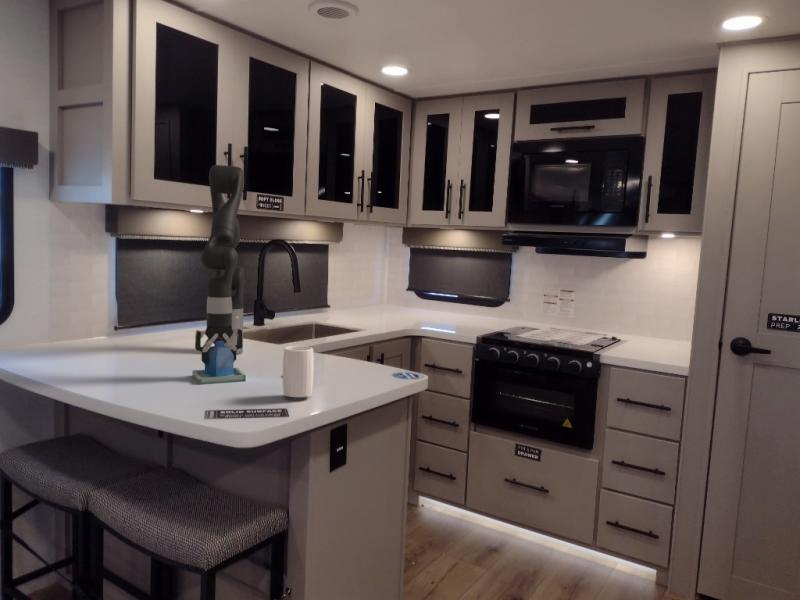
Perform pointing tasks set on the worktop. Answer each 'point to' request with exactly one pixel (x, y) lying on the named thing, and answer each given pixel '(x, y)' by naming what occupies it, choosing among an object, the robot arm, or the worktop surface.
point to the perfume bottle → (219, 360)
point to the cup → (298, 371)
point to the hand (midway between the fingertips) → (218, 362)
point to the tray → (207, 379)
